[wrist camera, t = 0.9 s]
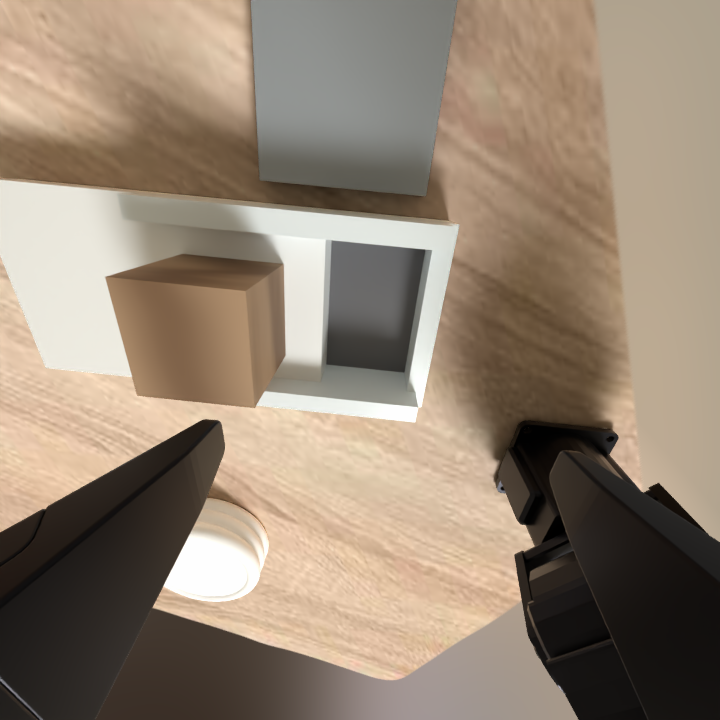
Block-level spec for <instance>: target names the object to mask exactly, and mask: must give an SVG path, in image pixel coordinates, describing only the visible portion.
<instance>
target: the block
mask: <svg viewBox="0 0 720 720" xmlns="http://www.w3.org/2000/svg"><path fill="white" fill-rule="evenodd" d="M105 279H106V283H107V286H108V290H109V294H110V297H111V301H112V305H113V308H114V312H115V316H116V319H117V323H118V327H119V330H120V334H121V338H122V341H123V345H124V349H125V352H126V356H127V360H128V363H129V367H130V371H131V374H132V378H133V382H134V386H135V389H136V393H137V396H145V397H155V398H164V399H174V400H183V401H193V402H202V403H212V404H221V405H231V406H240V407H250V408H255V407H256V405H257V403H258V402H259V400H260V398H261V396H262V395H263V393H264V391H265V390H266V388H267V386H268V385H269V383H270V381H271V380H272V378H273V376H274V374H275V373H276V371H277V369H278V368H279V366H280V364H281V363H282V361H283V359H284V358H285V356H286V345H285V297H284V264H280V263H270V262H260V261H250V260H240V259H230V258H220V257H209V256H199V255H189V254H180V255H177V256H173V257H170V258H167V259H163V260H160V261H156V262H153V263H150V264H146V265H143V266H140V267H136V268H133V269H130V270H126V271H123V272H120V273H116V274H113V275H110V276H106V277H105Z"/></svg>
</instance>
